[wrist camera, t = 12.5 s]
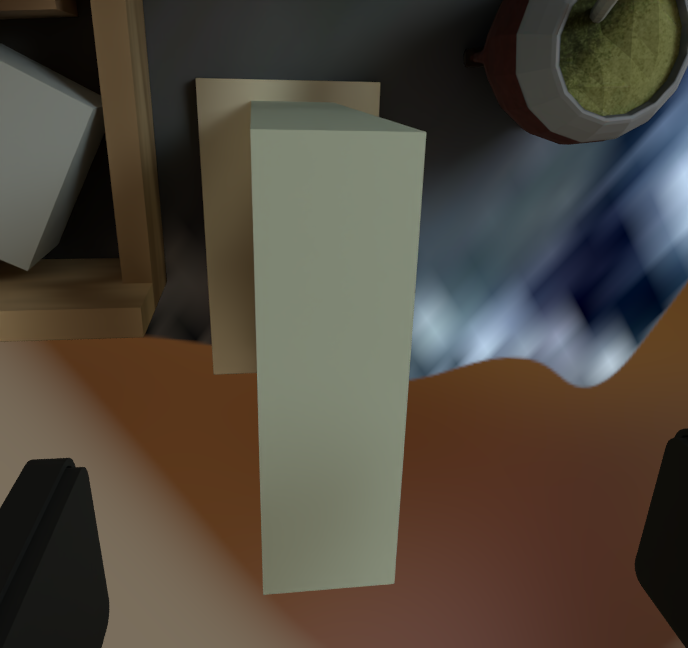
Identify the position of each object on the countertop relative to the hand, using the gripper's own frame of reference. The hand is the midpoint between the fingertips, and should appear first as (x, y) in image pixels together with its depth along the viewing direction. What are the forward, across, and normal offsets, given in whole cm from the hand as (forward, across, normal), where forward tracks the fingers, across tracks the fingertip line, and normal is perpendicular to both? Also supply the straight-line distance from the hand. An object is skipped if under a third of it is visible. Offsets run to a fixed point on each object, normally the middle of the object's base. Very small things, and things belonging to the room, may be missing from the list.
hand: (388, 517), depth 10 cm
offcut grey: (+22, +12, -3) cm, 25 cm away
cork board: (+22, +1, +1) cm, 22 cm away
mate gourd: (+22, -10, -7) cm, 25 cm away
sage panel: (+21, +1, +1) cm, 21 cm away
